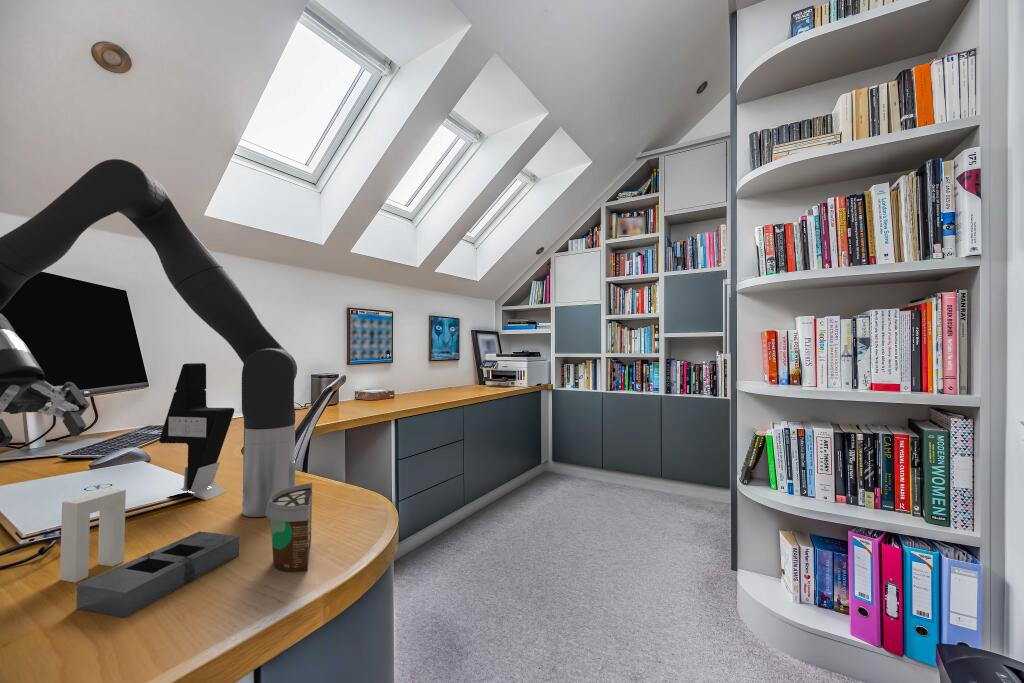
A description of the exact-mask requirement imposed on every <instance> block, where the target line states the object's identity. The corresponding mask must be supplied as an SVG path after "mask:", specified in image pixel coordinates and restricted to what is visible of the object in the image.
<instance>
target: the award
mask: <svg viewBox="0 0 1024 683" xmlns="http://www.w3.org/2000/svg"><path fill="white" fill-rule="evenodd" d="M206 389H207V364H206V363H205V362H194V363H192V362H190V363H184V364H182V367H181V370H180V372H179V377H178V379H177V382H176V386H175V388H174V392H173V394H172V398H171V402H170V405H169V408H168V411H167V415H166V418H165V420H164V424H163V428H162V430H161V433H160V436H159V439H158V442H159V443H160V444H185V445H187V466H185V467H184V472H183V473H184V474H183V475H184V476H183V487H182V488H180V490H183V491H188V490H189V491H192V492H195V494H193V495H192V496H194V497H196V498H198V499H201V500H203V501H207V500H208V501H209V500H211V499H213V498H216V497H219V496H221V495H224V494H226V493H227V491H226V490H224V488H222V487H221V486H220V485H218V483H216V482H215V477H216V474H217V471H218V469H219V466H220V462H221V461H218V460H219V457H220V454H221V451H222V449H223V446H224V443H225V440H226V436H227V434H228V432H229V429H230V425H231V423H232V420H233V416H234V414H235V411H236V410H235V408H234V407H208V406H207V390H206ZM208 486H211V487H212V489H211V490H207V488H209V487H208Z"/></svg>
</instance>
